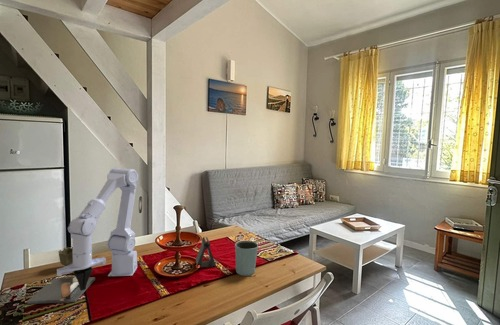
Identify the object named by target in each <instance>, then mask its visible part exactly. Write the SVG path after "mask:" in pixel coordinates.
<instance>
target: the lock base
mask: <svg viewBox="0 0 500 325" xmlns="http://www.w3.org/2000/svg"><path fill="white" fill-rule="evenodd" d="M73 278H74V277H62V278H59V277H55V278H53V279H51V281H49V282H46V283H45V285H44V286H43V287H42V288H41V289H40V290H39V291H37V292H36V293H35V294H34V295H32V296H31V297H30V298H29V299H28V300H27V301H26V304H27V305H36V304H39V305H40V304H57V303H60V304H61V303H76V302H77V301H78V300H79V299H80V298H81V296H82V295H83V294H84V293H85V292H86V291H87V290H88V288H89V287H90V286H91V285H92V284H93V283H94V281H96V277H93V276H92V277H91V276H90V277H89V279H88V282H87V285H86V289H85V290H82V291H81V290H80V287H79V285H78V286H77V287H76V288H75V289H74V290H73V291H72V292H71V294H70V295H69V296H67V297H62V296H61V285H62V284H64V283H68V282H69V283H70V286H71V285H72V284H73Z"/></svg>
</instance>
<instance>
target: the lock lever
mask: <svg viewBox="0 0 500 325" xmlns="http://www.w3.org/2000/svg"><path fill="white" fill-rule="evenodd" d="M72 278H73V284H72V285H71V286H70V283H69V282H68V283H64V284H62V285H61V296H62V297H67V296H69V295H70V294H71V292H72V291H73V290H74V289H75V288H76V287H77V286H78V285H79V283H78V280H77V278H76V276H75V277H72Z"/></svg>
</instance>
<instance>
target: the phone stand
mask: <svg viewBox="0 0 500 325" xmlns="http://www.w3.org/2000/svg"><path fill="white" fill-rule="evenodd" d="M206 250H207V254H208V257H209V260H203V258H204V255H205V252H206ZM213 255H214V254H213V253H212V250H211V243H210V241H209V238H208V237H207V236H206V237H205V236H204V237H202V238H201V245H200V248H199V250H198V252H197V255H196V258H195V260H196V263H197V265H200V266H201V268H200V269H204V268H203V267H206V268H214V267H213V266H216V267H217V264H216V261H215V259H214V256H213Z"/></svg>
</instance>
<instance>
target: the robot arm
mask: <svg viewBox="0 0 500 325" xmlns="http://www.w3.org/2000/svg"><path fill="white" fill-rule="evenodd" d="M106 178H107V180H106V182H105V183H104V185H103V186H102V187H101V190H100V191H99V192H98V195H97V196H96V198H94V199H91V200H89V201H88V202H87V204H86V206H84V208H83V210H82V211H81V213H80V214H79V215H78V216H77V217H75V218H74V219H72V220H71V221H70V222H69V224H68V227H67V231H68V233H70V238H71V239H72V247H73V264H70V265H68V266H65V267H64V266H63V267H60V268H56V276H57V278H59V277H62V275H66V274H70V273H73V274H74V276H75V277H76V278H77V280H78V283H79V287H80V290H81V291H82V290H85V289H86V285H87V282H88V279H89V277H91V275H92V274H93V268H92V267H97V266H100V265H103V266H104V265H106V264H107V259H106V257H105V256H103V257H98V258H93V244H92V243H93V238H92V237H93V233H94V232H95V231H96V229H97V223H98V219H99V218H100V216H101V215H102V213H103V212H104V210H105V209H106V203H107V201H108V200H109V198H110V197H111V196H112V194H114V192H115V191H116V190H117V189H118V188H119V189H120V190H121V197H120V203H119V210H118V215H117V222H116V228H115V229H113V230H112V231H111V232H110V235H109V238H108V239H107V244H106V245H107V248H108V250H110V253H111V270H110V272H109V273H108V275H107V277H126V276H127V277H129V276H130V277H131V276H132V277H133V275H134V273H136V271H137V268H138V251H137V250H134V249H135V246H136V233H135V232H134V231H133V230H132V229H131V227H132V226H131V225H132V218H133V213H134V208H135V200H136V192H137V188H138V181H139V174H138V172H137V171H136V169H133V168H118V167H113V168H111V169H110V171H109V172H108V173H107V175H106ZM86 290H87V289H86Z"/></svg>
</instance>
